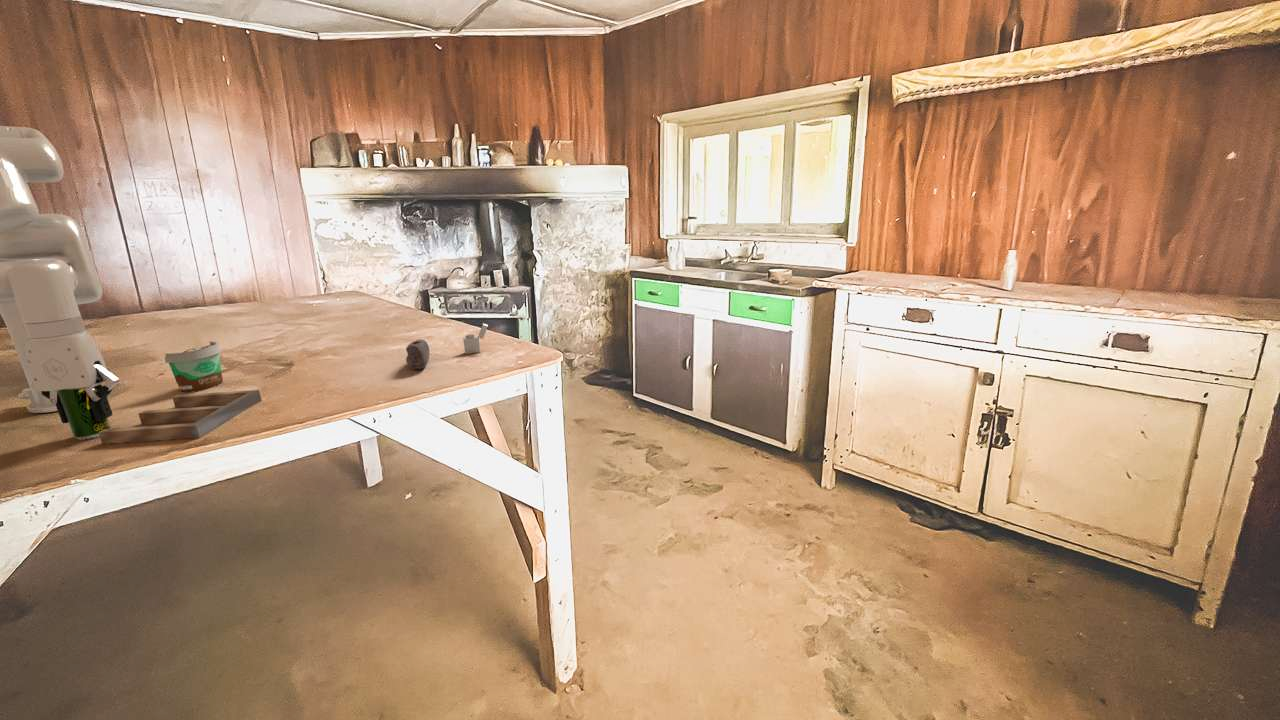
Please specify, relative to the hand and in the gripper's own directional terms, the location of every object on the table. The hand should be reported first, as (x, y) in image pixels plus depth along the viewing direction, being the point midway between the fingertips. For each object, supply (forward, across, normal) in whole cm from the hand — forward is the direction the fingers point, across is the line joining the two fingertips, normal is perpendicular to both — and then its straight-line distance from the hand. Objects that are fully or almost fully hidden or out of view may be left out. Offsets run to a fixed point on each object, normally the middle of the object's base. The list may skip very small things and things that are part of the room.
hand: (87, 418), depth 108 cm
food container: (+4, +4, +29) cm, 29 cm away
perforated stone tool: (+4, +53, +37) cm, 64 cm away
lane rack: (+4, +14, +5) cm, 15 cm away
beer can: (+4, 0, 0) cm, 4 cm away
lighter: (+4, +66, +47) cm, 81 cm away
